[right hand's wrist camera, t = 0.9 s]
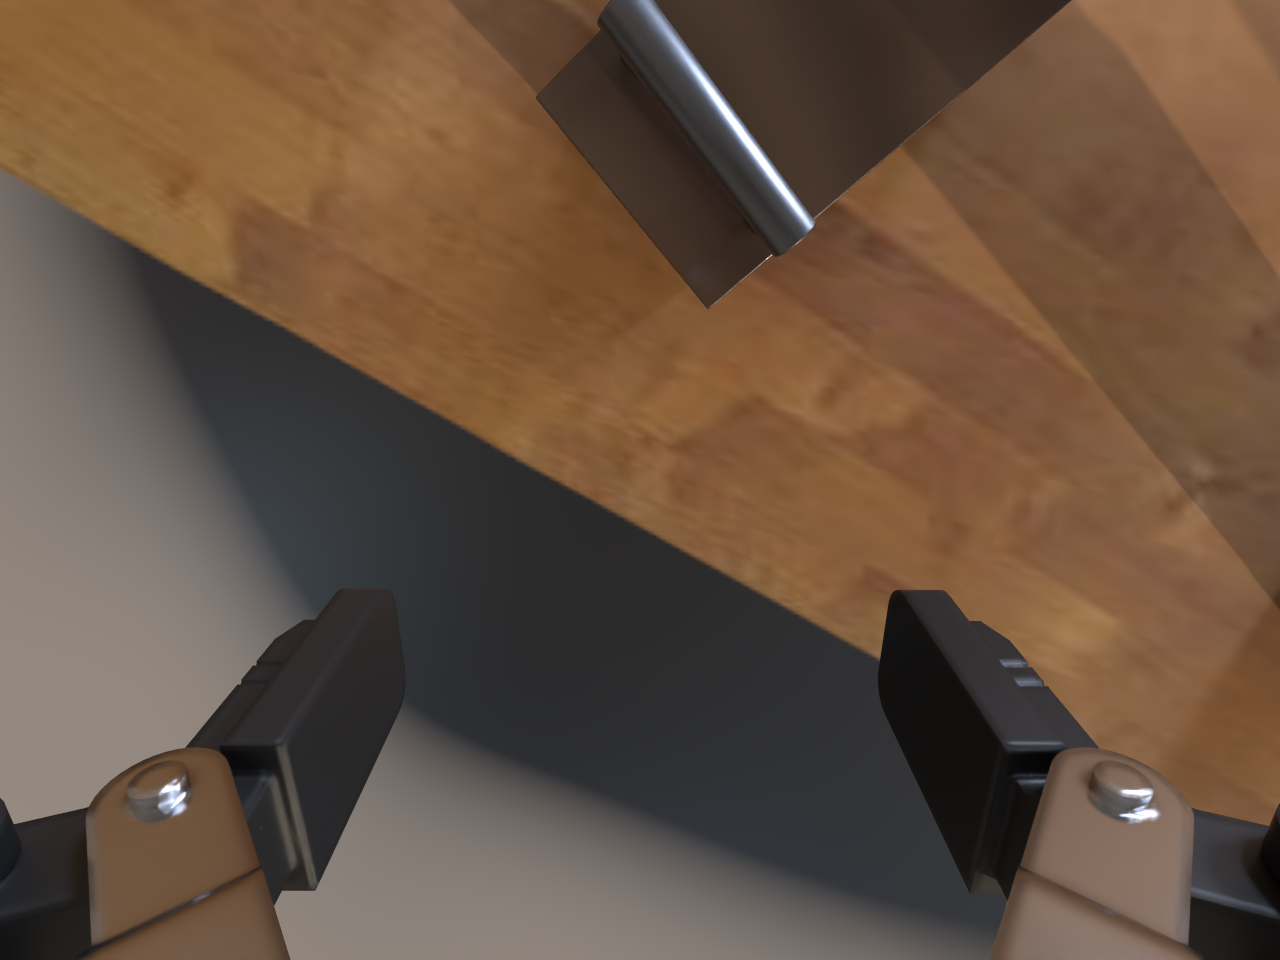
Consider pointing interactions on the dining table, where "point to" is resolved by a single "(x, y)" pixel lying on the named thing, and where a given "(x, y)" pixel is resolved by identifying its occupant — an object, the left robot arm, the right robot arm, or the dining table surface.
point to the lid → (764, 110)
